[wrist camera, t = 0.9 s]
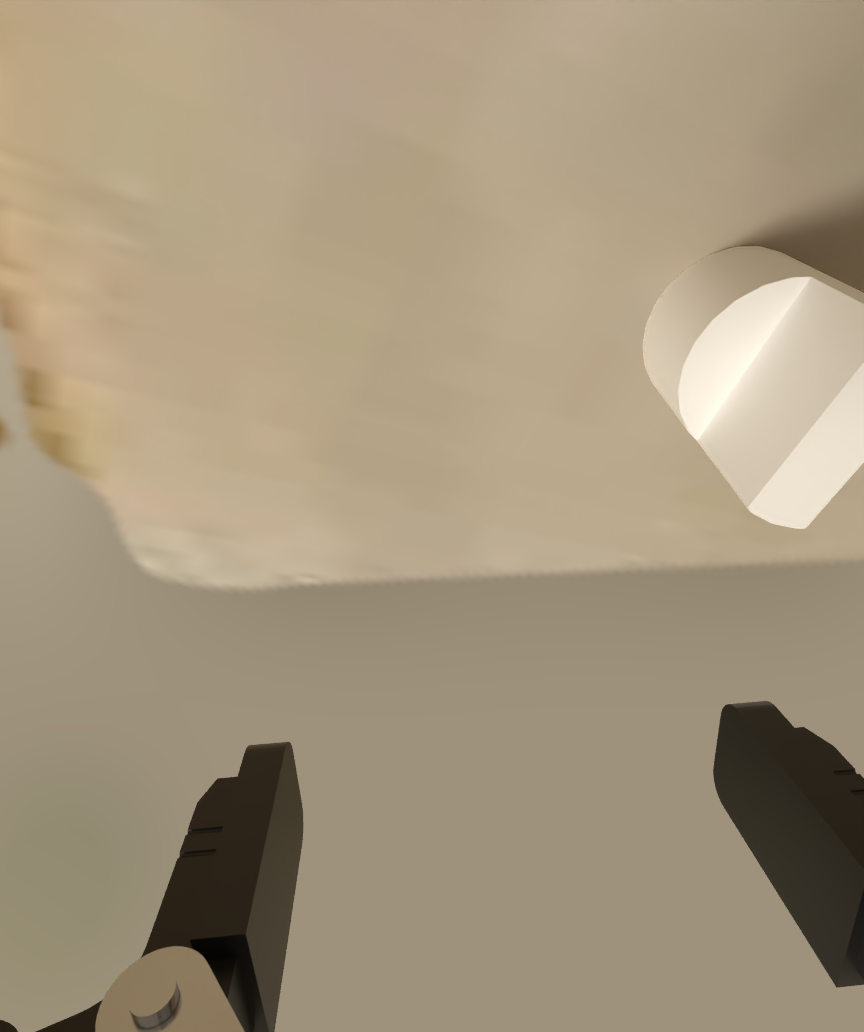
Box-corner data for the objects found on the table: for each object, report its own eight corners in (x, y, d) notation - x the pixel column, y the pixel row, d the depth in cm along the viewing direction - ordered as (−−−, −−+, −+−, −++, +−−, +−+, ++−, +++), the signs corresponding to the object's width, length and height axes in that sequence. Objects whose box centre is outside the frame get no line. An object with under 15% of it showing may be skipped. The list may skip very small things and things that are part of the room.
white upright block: (704, 217, 31) (833, 281, 21) (850, 284, 33) (1030, 371, 23) (612, 378, 36) (682, 492, 26) (743, 429, 38) (856, 552, 28)
